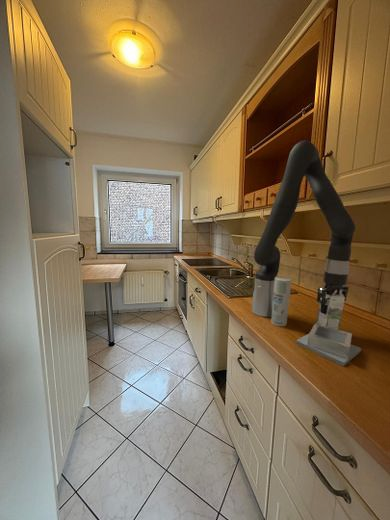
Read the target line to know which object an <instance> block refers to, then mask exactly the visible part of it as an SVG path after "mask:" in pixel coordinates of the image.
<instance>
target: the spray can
mask: <svg viewBox="0 0 390 520" xmlns="http://www.w3.org/2000/svg"><path fill="white" fill-rule="evenodd" d="M291 286H292V279H291V278H290V277H284V276H276V277H275V283H274V295H273V306H272V316H271V317H270V318H271V319H270V322H271V324H272V325H275V326H277V327H285V326H287V324H288V315H289V314H288V313H289V307H290V305H289V304H290V295H291V288H292V287H291Z"/></svg>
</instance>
